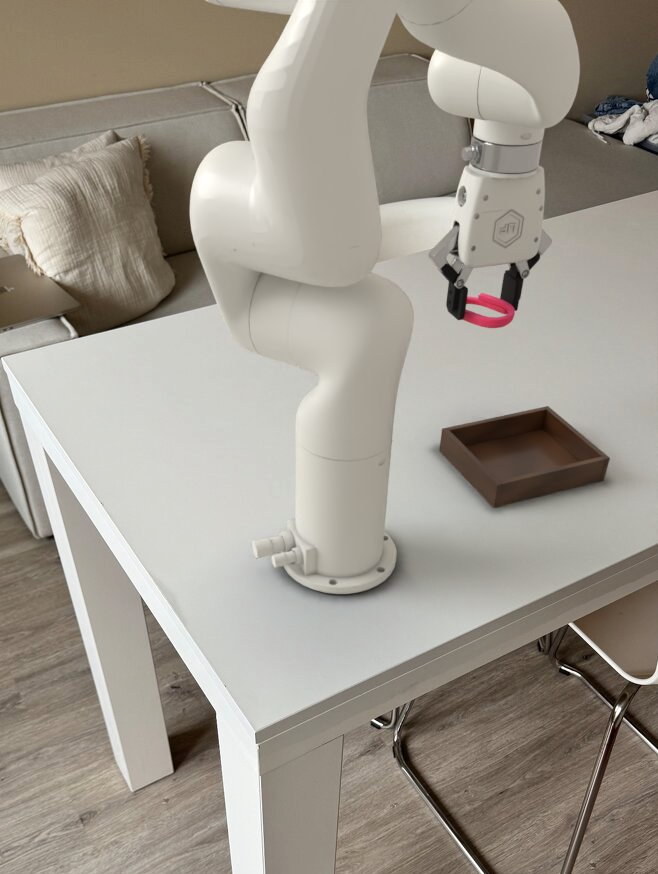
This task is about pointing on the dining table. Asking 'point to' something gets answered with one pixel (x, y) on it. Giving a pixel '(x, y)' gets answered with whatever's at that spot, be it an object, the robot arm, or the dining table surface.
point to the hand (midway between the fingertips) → (482, 310)
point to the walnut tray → (522, 456)
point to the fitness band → (492, 304)
